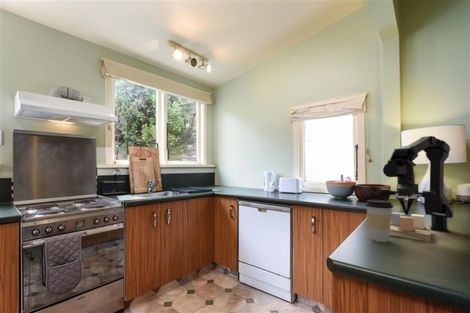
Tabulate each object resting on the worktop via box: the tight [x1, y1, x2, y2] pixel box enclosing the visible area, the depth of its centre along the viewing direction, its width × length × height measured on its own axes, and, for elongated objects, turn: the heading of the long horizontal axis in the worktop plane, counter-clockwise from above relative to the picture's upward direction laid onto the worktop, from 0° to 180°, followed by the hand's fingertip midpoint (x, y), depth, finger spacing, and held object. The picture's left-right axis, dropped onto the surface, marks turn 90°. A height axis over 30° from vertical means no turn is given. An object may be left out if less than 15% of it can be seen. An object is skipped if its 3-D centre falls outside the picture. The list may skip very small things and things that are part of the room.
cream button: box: [410, 213, 426, 229], centre depth 103 cm, size 4×4×5 cm
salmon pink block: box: [400, 215, 414, 231], centre depth 99 cm, size 4×4×5 cm
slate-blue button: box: [391, 211, 406, 226], centre depth 108 cm, size 4×4×5 cm
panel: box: [389, 221, 432, 243], centre depth 102 cm, size 16×15×2 cm
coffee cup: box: [364, 199, 394, 243], centre depth 93 cm, size 9×9×15 cm
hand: (406, 214), depth 100 cm, fingers closed
